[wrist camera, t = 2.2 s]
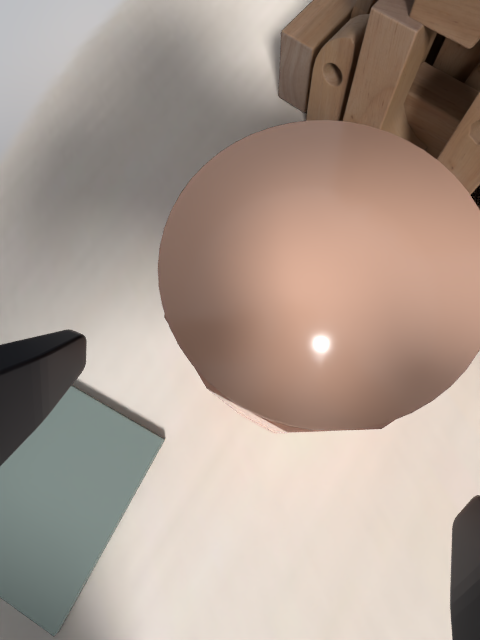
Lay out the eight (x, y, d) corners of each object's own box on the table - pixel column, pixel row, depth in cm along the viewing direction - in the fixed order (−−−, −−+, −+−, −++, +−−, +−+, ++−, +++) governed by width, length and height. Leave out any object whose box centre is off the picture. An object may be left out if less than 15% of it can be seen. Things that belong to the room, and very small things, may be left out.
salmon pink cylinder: (328, 462, 18) (421, 503, 7) (188, 386, 20) (95, 327, 9) (391, 322, 20) (542, 189, 9) (258, 260, 21) (251, 81, 10)
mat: (58, 631, 17) (53, 636, 17) (-94, 521, 19) (-102, 523, 18) (165, 439, 19) (163, 439, 19) (18, 354, 21) (14, 353, 20)
